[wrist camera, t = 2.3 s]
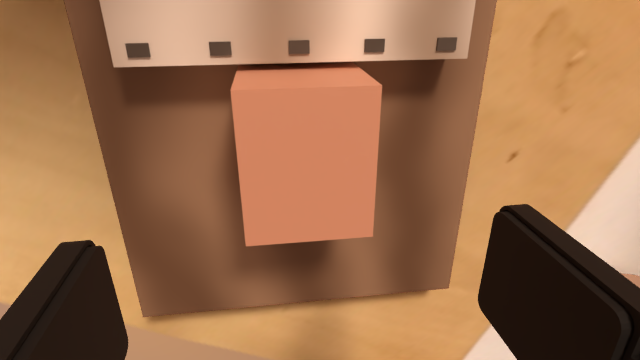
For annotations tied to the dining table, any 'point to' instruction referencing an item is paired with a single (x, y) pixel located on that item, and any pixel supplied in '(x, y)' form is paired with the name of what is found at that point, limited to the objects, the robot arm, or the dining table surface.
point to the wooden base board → (220, 147)
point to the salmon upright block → (306, 150)
